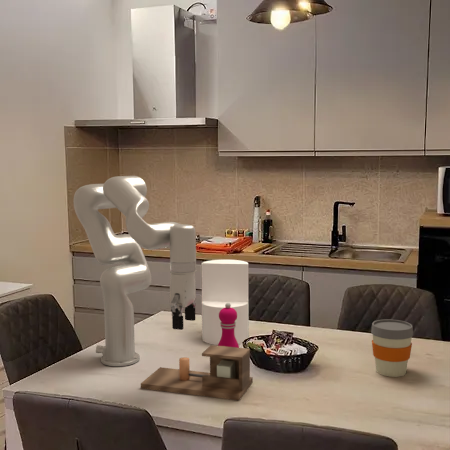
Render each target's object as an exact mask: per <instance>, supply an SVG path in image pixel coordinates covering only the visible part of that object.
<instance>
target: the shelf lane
mask: <svg viewBox="0 0 450 450" xmlns="http://www.w3.org/2000/svg"><path fill="white" fill-rule="evenodd" d="M250 351H251V350H250V348H247V347H239V348H236V347H226V346H218V345H213V344H209V346H208V347H207V348H206V349H205V350H204V351H203V352H202V353H201V356H202V357H206V358H207V357H208V358H209V372H208V371H198V370H190V373H192V374H201V375H203V376H202V377H194V376H190V379H189V380H185V381H184V380H180V375H179V369H178V368H172V367H171V368H170V367H169V368H168V367H161V366H160V367H159V368H157V369H156V370H155V371H154V372H153V373H151V375H149V376H147V377H146V378H145V379H144V380H143V381H142V382H140V389H142V390H149V391H150V390H152V391H159V392H167V393H175V394H181V395H182V394H184V395H191V396H198V397H200V396H201V397H206V398H207V397H208V398H216V399H224V400H232V401H233V400H234V401H241V399H242V398H243V396H244V395H245V393H247V391H248V390H249V388H250V386H251V385H252V384H253V382H254V381H253V377H251V370H250V369H251V368H250V367H251V365H250V364H251V363H250V362H251V359H250V358H251V352H250ZM222 360H228V361H235V379H234V378H225V377H216V376H217V365H218V364H219V363H220V362H221V361H222ZM207 375H210V376H207Z"/></svg>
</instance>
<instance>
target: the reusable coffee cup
mask: <svg viewBox="0 0 450 450" xmlns="http://www.w3.org/2000/svg"><path fill="white" fill-rule="evenodd" d="M370 333H371V336H372V340H371V346H372V355H373V357H374V361H375V370H376V373H378V374H380V375H381V376H384V377H390V378H391V377H393V378H394V377H396V378H397V377H403V376H405V375H406V374H407V368H408V362H409V360H410V358H411V352H412V346H413V343H412V337H413V336H414V328H413V324H412V323H409V322H407V321H404V320H401V319H400V320H399V319H387V318H386V319H385V318H384V319H378V320H374V321H373V322H372V323H371V331H370Z"/></svg>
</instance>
